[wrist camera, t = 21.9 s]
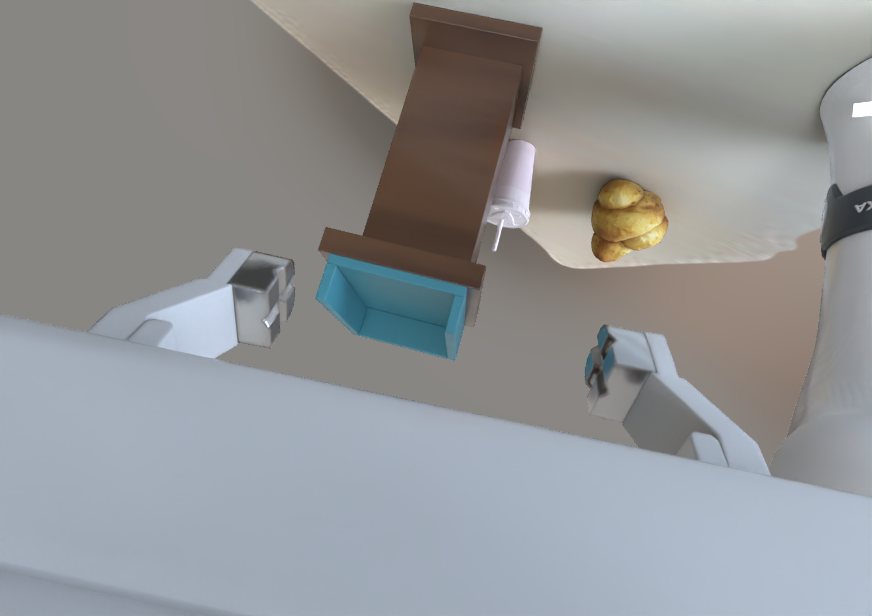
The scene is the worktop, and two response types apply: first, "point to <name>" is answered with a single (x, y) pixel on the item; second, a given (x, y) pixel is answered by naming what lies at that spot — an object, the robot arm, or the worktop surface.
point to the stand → (447, 149)
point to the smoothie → (513, 188)
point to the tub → (394, 306)
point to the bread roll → (626, 220)
